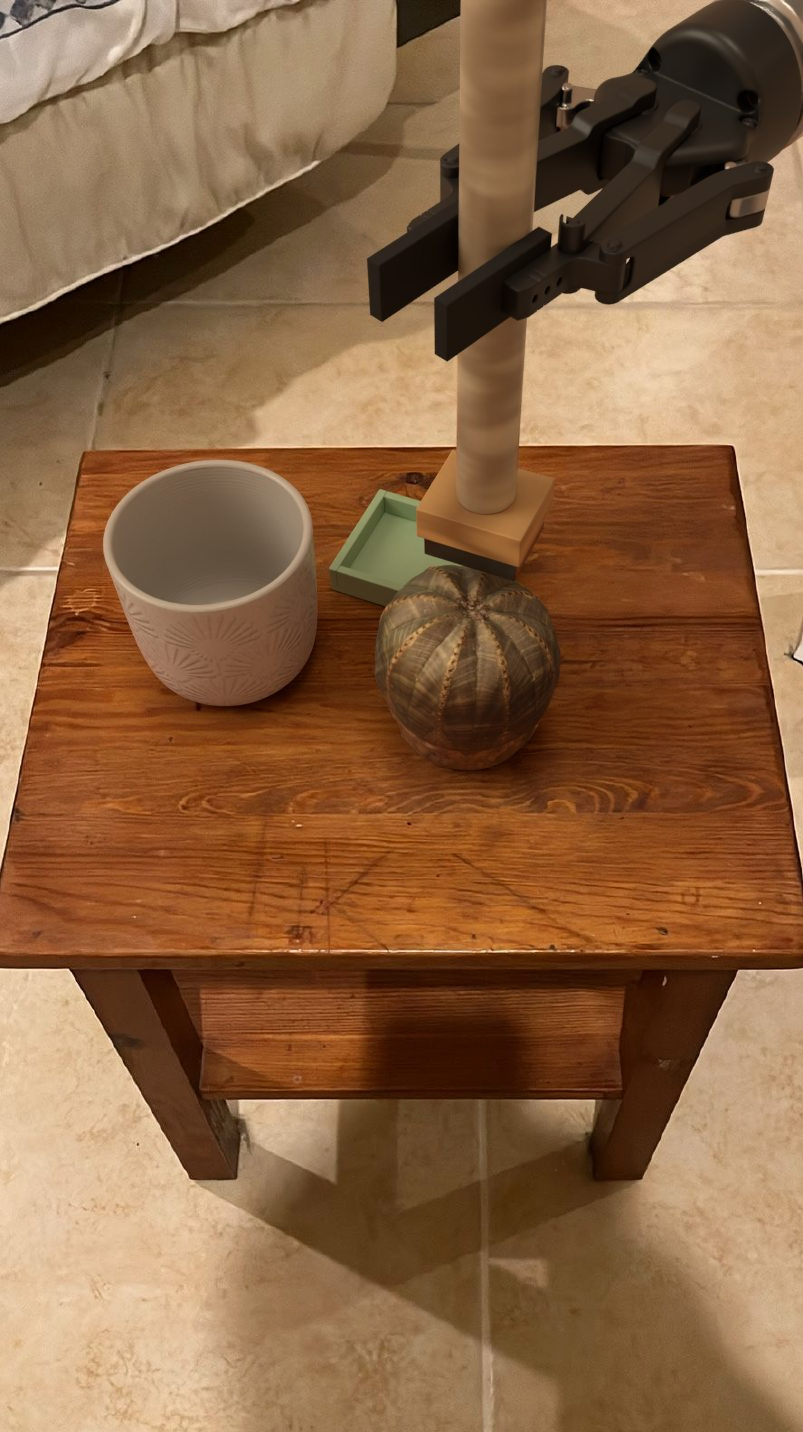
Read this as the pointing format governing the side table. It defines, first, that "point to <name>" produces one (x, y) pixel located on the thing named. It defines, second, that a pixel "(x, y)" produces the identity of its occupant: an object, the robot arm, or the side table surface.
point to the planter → (216, 578)
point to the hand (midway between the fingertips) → (408, 310)
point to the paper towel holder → (492, 216)
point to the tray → (382, 551)
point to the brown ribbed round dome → (466, 665)
